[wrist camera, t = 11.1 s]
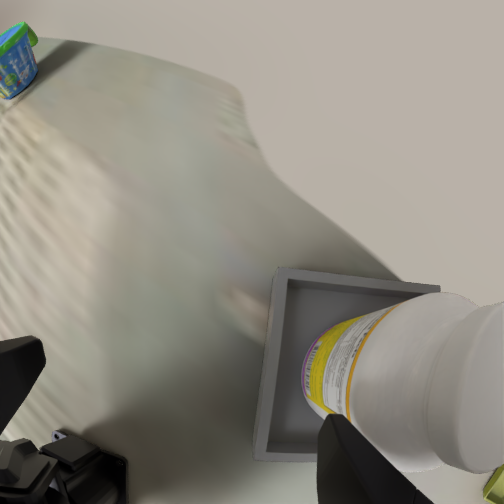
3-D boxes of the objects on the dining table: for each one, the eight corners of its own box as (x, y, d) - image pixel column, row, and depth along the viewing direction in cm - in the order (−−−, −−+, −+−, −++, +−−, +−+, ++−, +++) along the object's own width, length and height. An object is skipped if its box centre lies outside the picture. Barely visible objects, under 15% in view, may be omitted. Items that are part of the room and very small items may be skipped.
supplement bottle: (408, 380, 16) (568, 385, 4) (329, 439, 15) (451, 543, 2) (363, 300, 18) (518, 221, 5) (278, 356, 16) (369, 382, 4)
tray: (402, 438, 15) (424, 448, 12) (251, 443, 15) (253, 460, 12) (417, 294, 19) (440, 285, 16) (272, 278, 19) (278, 266, 16)
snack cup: (13, 116, 24) (-20, 68, 15) (-21, 126, 25) (-50, 88, 15) (65, 49, 29) (47, 5, 20) (27, 62, 29) (8, 25, 20)
